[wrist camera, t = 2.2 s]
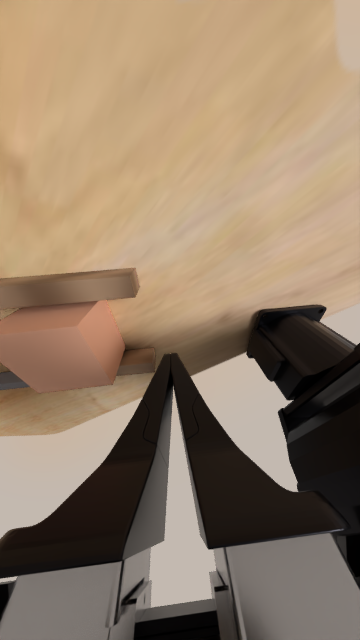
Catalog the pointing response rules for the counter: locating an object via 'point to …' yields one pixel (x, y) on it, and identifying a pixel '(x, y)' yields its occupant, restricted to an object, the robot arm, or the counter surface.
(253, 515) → the robot arm
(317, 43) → the counter surface
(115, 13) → the counter surface
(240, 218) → the counter surface
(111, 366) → the terracotta block
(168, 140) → the counter surface
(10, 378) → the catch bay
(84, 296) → the wooden blocks
